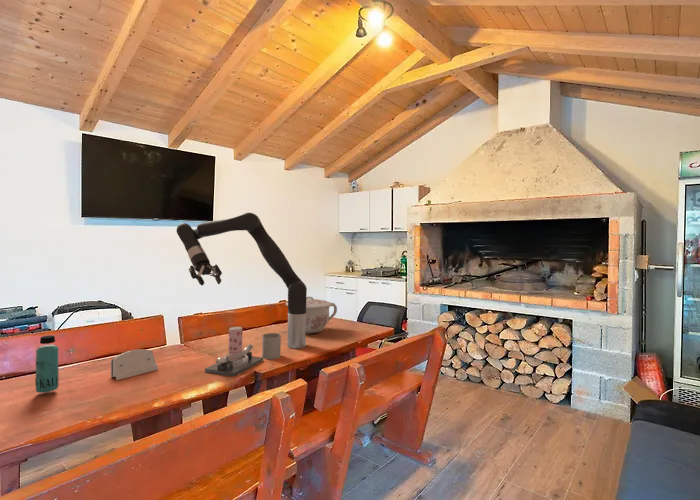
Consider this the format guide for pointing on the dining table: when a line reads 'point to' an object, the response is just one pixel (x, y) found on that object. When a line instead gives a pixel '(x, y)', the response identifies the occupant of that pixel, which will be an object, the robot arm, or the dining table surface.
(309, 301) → the chamber pot
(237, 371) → the base
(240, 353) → the beverage can
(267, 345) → the cup
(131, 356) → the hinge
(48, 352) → the beverage bottle
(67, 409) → the dining table surface
